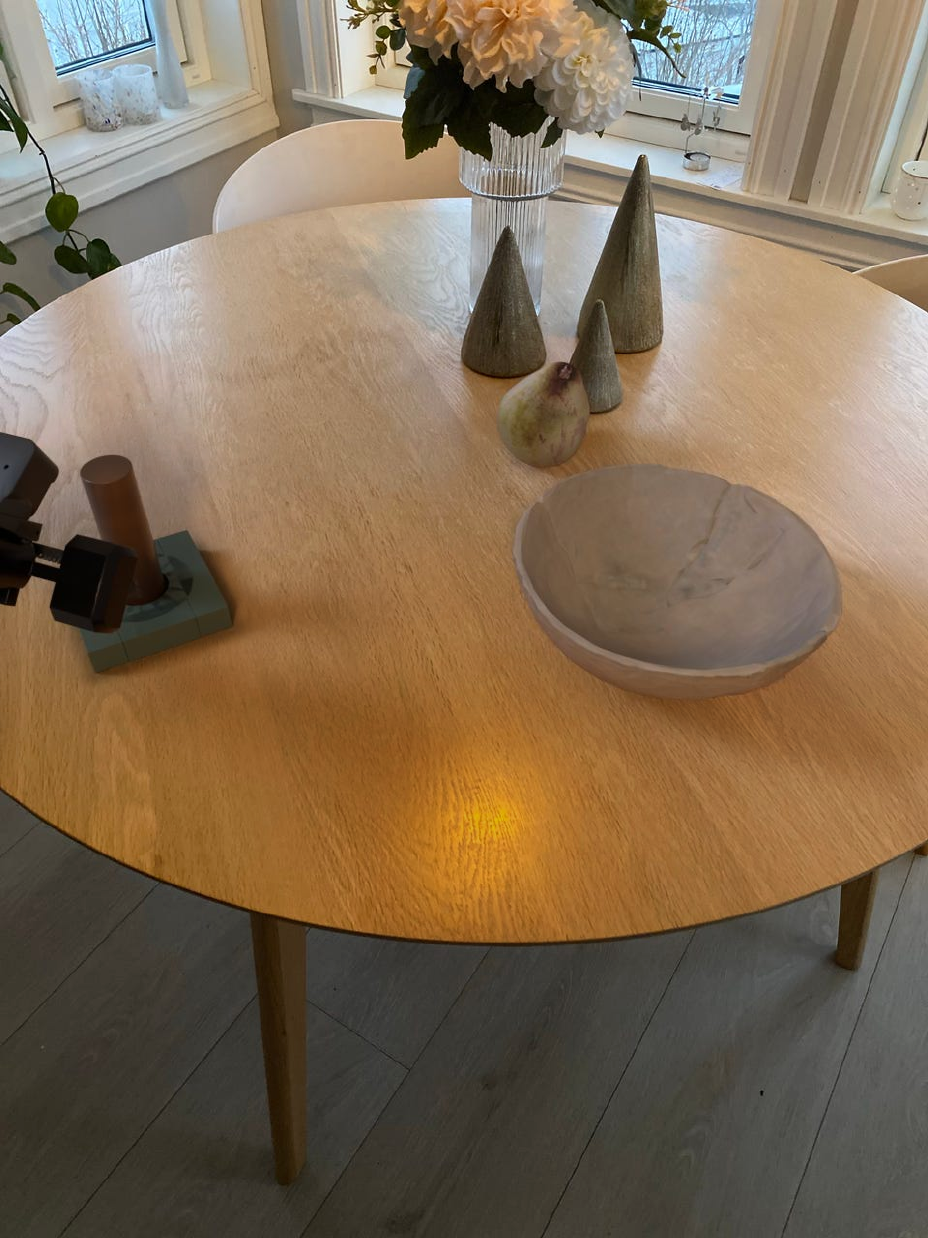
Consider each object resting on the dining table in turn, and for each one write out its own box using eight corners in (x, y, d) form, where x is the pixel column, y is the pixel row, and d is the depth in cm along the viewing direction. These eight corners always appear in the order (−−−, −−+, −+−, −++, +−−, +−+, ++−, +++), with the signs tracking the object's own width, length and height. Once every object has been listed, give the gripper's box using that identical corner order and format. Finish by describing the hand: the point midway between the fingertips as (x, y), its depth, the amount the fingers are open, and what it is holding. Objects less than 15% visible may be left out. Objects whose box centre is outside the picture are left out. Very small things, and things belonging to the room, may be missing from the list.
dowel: (161, 624, 85) (120, 485, 74) (117, 620, 85) (71, 481, 74) (176, 594, 87) (139, 456, 77) (134, 590, 88) (92, 452, 77)
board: (95, 673, 80) (87, 653, 78) (64, 588, 88) (56, 568, 86) (232, 626, 84) (228, 606, 83) (192, 549, 92) (187, 529, 90)
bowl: (631, 510, 97) (644, 425, 90) (870, 644, 84) (908, 557, 77) (443, 636, 84) (442, 548, 77) (691, 821, 70) (718, 734, 63)
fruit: (561, 492, 99) (571, 389, 91) (479, 467, 102) (482, 365, 94) (597, 443, 106) (610, 343, 97) (520, 421, 109) (525, 322, 101)
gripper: (85, 454, 59) (210, 499, 74) (-155, 396, 63) (10, 451, 78) (39, 630, 59) (173, 639, 74) (-197, 560, 63) (-25, 583, 78)
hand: (81, 573), depth 76 cm, fingers open, 9 cm apart
